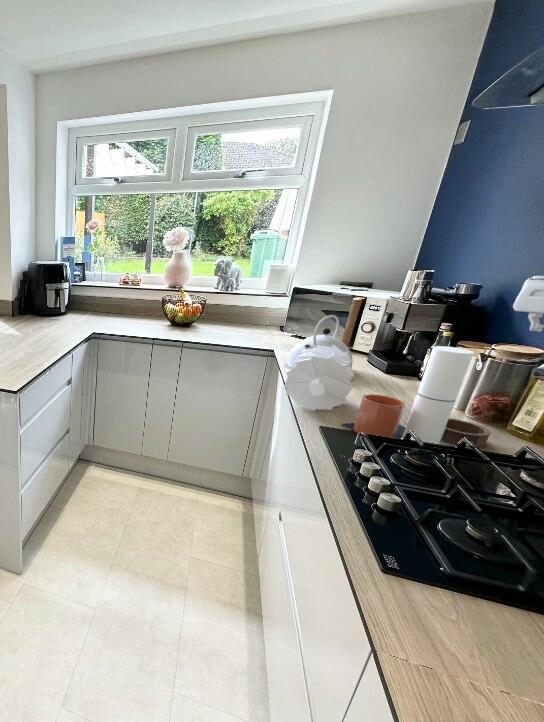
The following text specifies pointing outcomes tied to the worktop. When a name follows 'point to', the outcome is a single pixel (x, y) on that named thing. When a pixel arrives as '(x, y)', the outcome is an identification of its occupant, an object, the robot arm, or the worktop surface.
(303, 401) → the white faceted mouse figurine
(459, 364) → the cylindrical container
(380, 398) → the terracotta cup
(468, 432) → the holder ring
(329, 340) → the kettle
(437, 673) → the worktop surface
